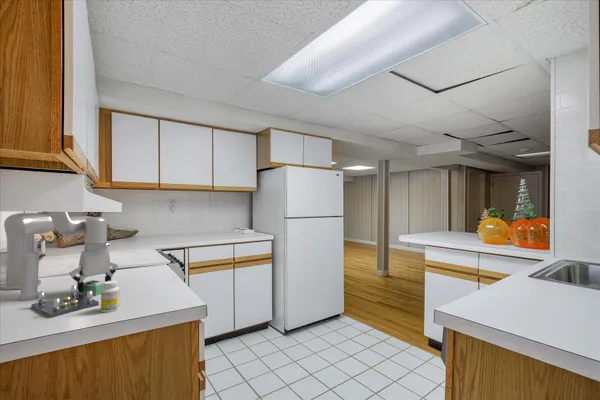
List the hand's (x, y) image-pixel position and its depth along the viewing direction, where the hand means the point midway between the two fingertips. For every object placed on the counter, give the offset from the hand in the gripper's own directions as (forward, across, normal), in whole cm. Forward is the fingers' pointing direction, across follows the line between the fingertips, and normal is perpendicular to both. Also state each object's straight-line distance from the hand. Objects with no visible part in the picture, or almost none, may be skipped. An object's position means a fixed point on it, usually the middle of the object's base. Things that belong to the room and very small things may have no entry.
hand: (94, 288), depth 118 cm
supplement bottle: (+2, +6, +25) cm, 26 cm away
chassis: (+2, +13, +9) cm, 16 cm away
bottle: (+2, +17, -12) cm, 21 cm away
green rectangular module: (+2, 0, 0) cm, 2 cm away
